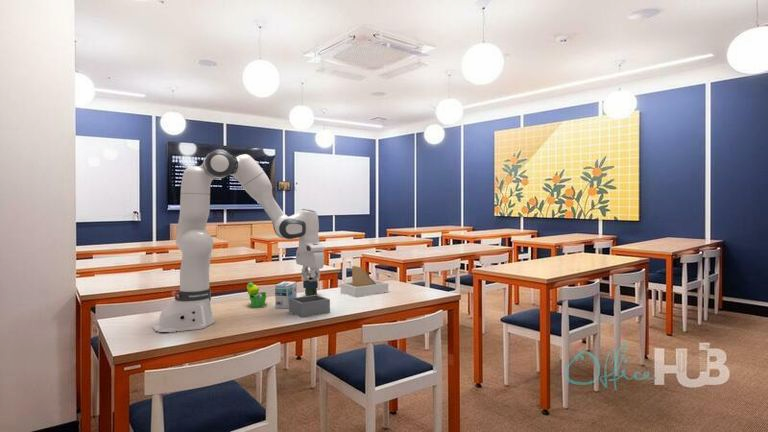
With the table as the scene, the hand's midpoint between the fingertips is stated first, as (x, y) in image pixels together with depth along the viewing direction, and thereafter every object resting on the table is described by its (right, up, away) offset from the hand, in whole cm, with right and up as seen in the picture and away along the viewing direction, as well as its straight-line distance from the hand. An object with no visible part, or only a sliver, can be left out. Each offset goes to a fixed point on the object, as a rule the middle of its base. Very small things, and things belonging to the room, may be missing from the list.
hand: (309, 276), depth 205 cm
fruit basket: (-27, -16, +14) cm, 35 cm away
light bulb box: (-13, -16, +13) cm, 24 cm away
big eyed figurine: (-5, -15, +36) cm, 39 cm away
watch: (0, -5, +1) cm, 5 cm away
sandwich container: (+25, -15, +44) cm, 53 cm away
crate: (0, -16, +1) cm, 16 cm away
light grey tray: (+23, -14, +44) cm, 51 cm away
